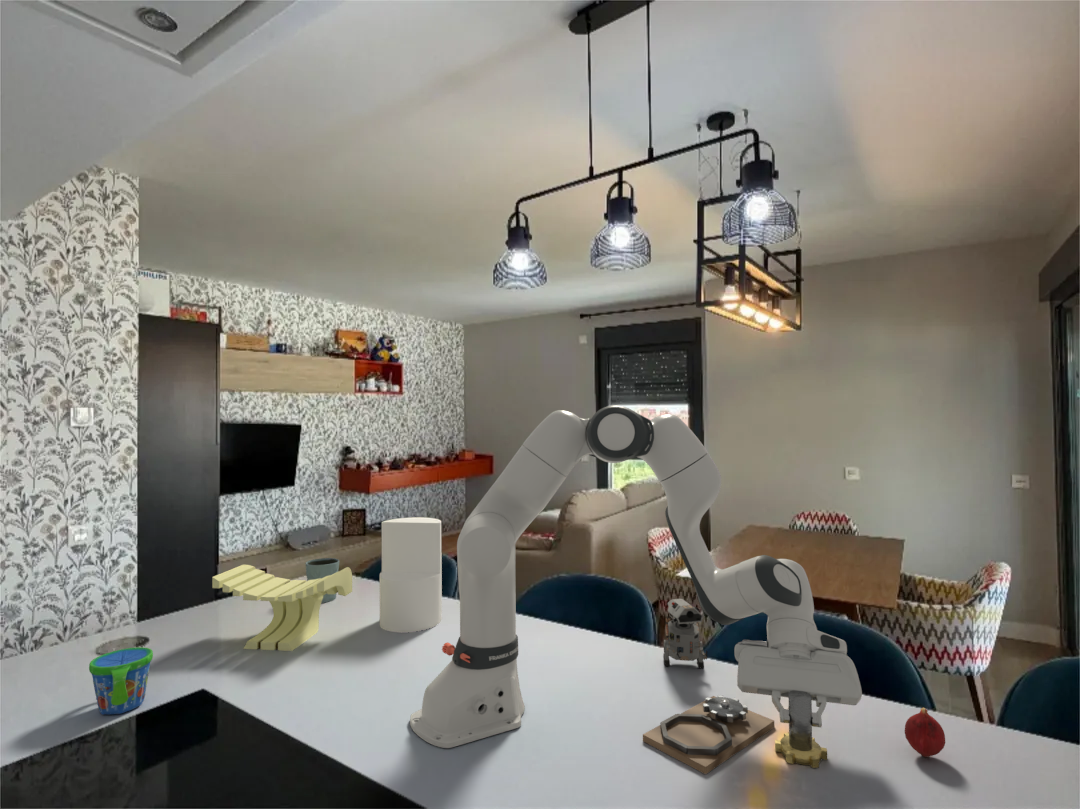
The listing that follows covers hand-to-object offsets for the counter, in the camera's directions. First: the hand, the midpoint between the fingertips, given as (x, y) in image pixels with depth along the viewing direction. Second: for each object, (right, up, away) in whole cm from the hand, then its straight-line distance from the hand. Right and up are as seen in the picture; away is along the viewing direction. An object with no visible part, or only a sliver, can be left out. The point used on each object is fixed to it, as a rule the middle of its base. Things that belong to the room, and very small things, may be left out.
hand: (800, 723), depth 101 cm
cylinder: (-81, -8, +68) cm, 106 cm away
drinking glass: (-114, -8, +90) cm, 145 cm away
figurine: (-11, -6, +35) cm, 38 cm away
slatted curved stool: (-112, -8, +56) cm, 125 cm away
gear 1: (-10, -5, +10) cm, 15 cm away
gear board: (-13, -6, +7) cm, 16 cm away
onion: (+21, -5, 0) cm, 22 cm away
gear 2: (0, -5, +1) cm, 5 cm away
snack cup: (-129, -7, +19) cm, 130 cm away
